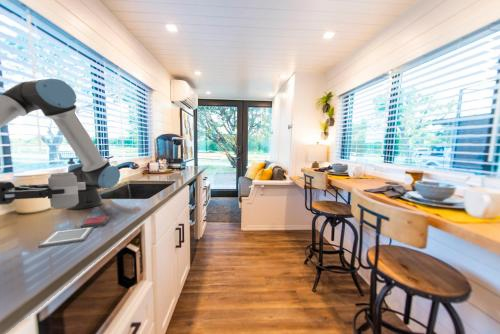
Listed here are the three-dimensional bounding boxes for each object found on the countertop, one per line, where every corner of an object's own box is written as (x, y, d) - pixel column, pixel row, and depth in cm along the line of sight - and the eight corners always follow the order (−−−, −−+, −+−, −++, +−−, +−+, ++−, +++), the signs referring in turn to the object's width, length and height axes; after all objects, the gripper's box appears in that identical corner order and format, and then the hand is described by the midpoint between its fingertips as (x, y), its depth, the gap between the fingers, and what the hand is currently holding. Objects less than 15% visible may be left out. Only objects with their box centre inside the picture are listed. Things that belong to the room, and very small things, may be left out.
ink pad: (87, 221, 92) (87, 217, 92) (109, 218, 95) (109, 215, 95) (80, 228, 84) (80, 224, 84) (104, 225, 87) (104, 222, 87)
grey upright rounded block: (62, 210, 71) (59, 174, 70) (44, 209, 72) (41, 174, 71) (84, 204, 78) (81, 171, 77) (67, 203, 80) (64, 171, 79)
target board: (55, 233, 80) (55, 231, 80) (93, 228, 85) (93, 226, 84) (38, 247, 69) (38, 245, 69) (84, 240, 74) (83, 238, 73)
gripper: (14, 197, 78) (90, 192, 86) (-32, 214, 59) (71, 205, 68) (12, 177, 77) (89, 174, 86) (-36, 187, 58) (69, 181, 67)
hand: (81, 187), depth 77 cm, fingers closed on grey upright rounded block, 7 cm apart
